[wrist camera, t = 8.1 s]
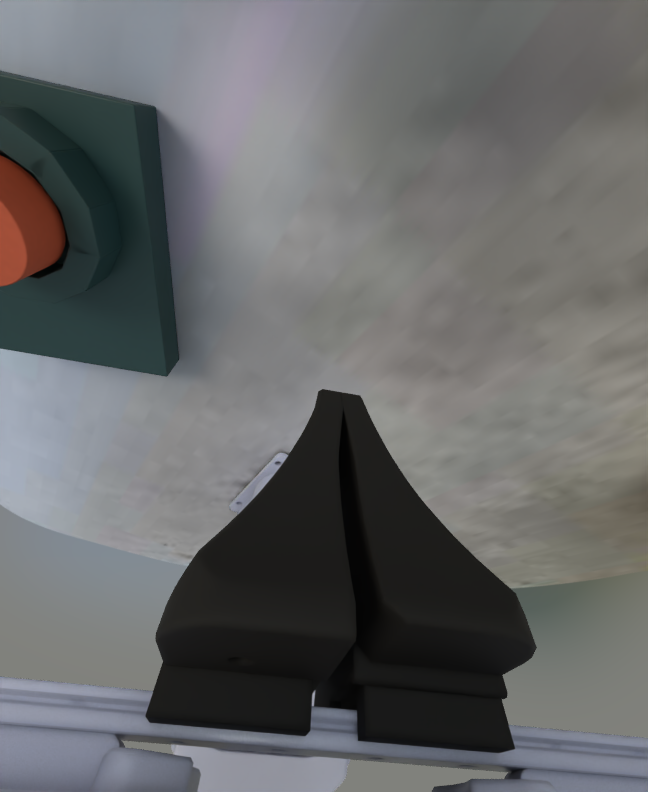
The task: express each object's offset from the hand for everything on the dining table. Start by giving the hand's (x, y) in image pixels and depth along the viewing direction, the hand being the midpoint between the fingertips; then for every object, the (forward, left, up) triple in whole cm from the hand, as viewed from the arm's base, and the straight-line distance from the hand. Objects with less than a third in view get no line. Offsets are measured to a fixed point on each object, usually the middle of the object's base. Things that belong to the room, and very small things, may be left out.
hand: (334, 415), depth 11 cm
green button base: (-6, +13, -10) cm, 18 cm away
